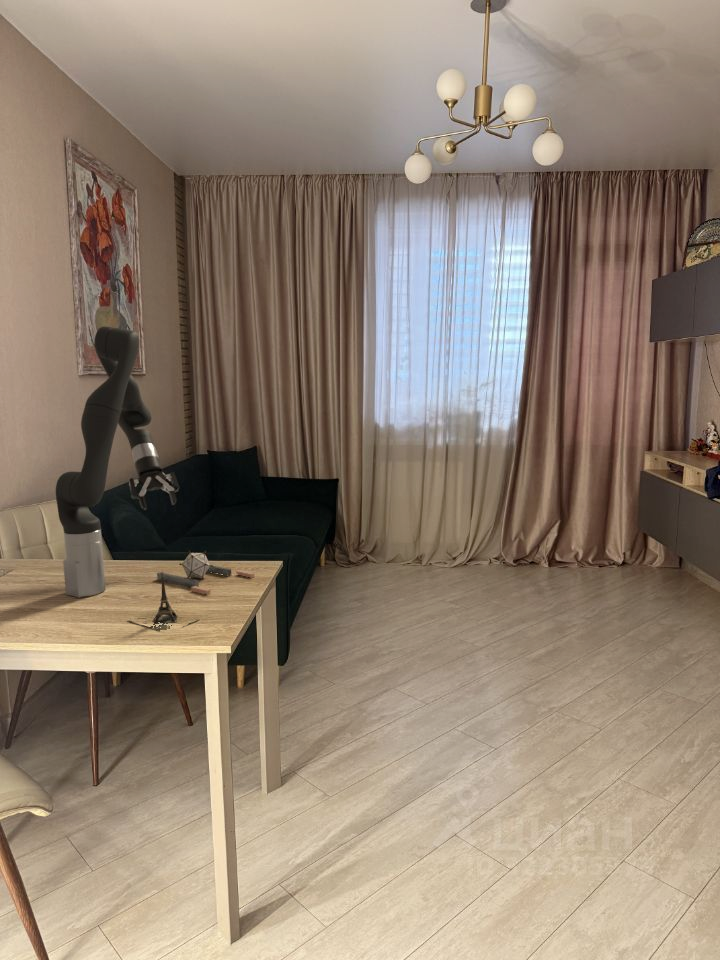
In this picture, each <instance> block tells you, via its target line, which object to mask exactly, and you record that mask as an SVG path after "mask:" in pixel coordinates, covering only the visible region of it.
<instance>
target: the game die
mask: <svg viewBox="0 0 720 960" xmlns="http://www.w3.org/2000/svg"><path fill="white" fill-rule="evenodd" d="M206 552H207V550H204V551H203V552H191V550H188V555H187V556H186V558H185V559H184V560H183V562H182V563H181V562H180V563H178V565H179V566H182V568H183V570H184V572H185V574H186V578H189V579H190V578H202V580H205V577H204V576H205V575H206V574H207V573H208V572H207V570H208V569H209V568H210V566H211V567H213V566H214V565H213V564H210V562H209V559H208V558H207V555H206Z"/></svg>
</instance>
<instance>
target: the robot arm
mask: <svg viewBox="0 0 720 960" xmlns="http://www.w3.org/2000/svg"><path fill="white" fill-rule="evenodd" d="M140 342H141V341H140V336H139V334H138V333H137V331H134V330H130V329H124V328H118V327H113V326H100V327H99V328H98V329H97V331H96V332H95V336H94V343H93V344H94V350H95V352H96V355H97V357H98V360H99V361H100V363H101V366H102V367H103V369H104V371H105V373H106V374H107V376H108V378H107V379H106V380H105V381H104V382H103V383H101V384H100V385H99V386H98V387H97V388H96V389H94V391H93V392H91V394H90V395H89V396H88V397H87V399H86V401H85V403H84V409H83V412H82V414H81V415H82V416H81V419H80V420H81V421H80V427H81V433H82V438H83V441H84V446H85V456H84V461H83V465H82V468H81V471H66V472H63V473H62V474H61V475H60V476H59V477H58V479H57V481H56V484H55V485H56V486H55V499H56V506H57V507H56V508H57V513H58V520H59V522H60V524H61V526H62V529H63V536H64V537H63V539H64V549H65V559H64V560H63V561H62V563H63V565H62V566H63V576H64V585H65V586H64V587H65V594H66V595H68V596H72V597H75V598H78V599H79V598H84V597H91V596H95V595H98V594H99V595H100V594H102V593H103V592H105V591H106V577H105V564H104V563H105V562H104V555H103V551H104V550H103V539H102V538H103V537H102V526H101V520H100V519H99V518H98V517H97V516H96V515H94V514H93V513H92V511H90V509H89V508H90V507H91V508H92V507H94V506H96V505H97V504H99V503H100V501H101V500H102V498H103V495H104V492H105V488H106V483H107V477H108V476H107V475H108V470H109V469H108V468H109V462H110V457H111V452H112V448H113V447H112V446H113V443H114V439H115V434H116V431H117V427H118V426H119V427H120V428H121V430H122V431H123V433H124V434H125V436H126V438H127V440H128V442H129V443H128V444H129V446H130V449H131V453H132V460H133V464H134V467H135V471H136V474H137V476H138V478H136V479H135V478H131V477H130V479H129V481H128V486H129V491H130V497H131V499H132V500H138V502H139V505H140V508H141V509H143V510H144V511H146V510H147V509H148V505H147V502H146V497H145V495H146V493H147V491H149V492H153V491H159V490H160V489H161V490H162V491H164V492H166V493H168V494H169V499H170V502H171V506H175V504H176V503H177V501H178V498H177V495H176V493H177V492H178V493H179V489H180V485H179V482H178V479H177V476H176V475H175V474H176V473H175V472H174V471H171V472H170V473H167V474H165V473H164V470H163V467H162V463H161V460H160V457H159V454H158V451H157V449H156V447H155V443H154V440H153V437H152V433H151V432H150V431H149V430H148V429H145V428H144V427H146V426H149V425H150V423H151V422H152V419H153V418H152V417H153V416H152V414H151V411H150V409H149V408H148V406H147V405H146V404H145V402H144V400H143V399H142V396H141V391H140V386H139V384H138V382H137V381H136V379H135V378H134V377H133V376H132V372H133V370H134V366H135V364H136V360H137V358H138V354H139V350H140ZM142 427H143V428H144V429H143V428H142ZM166 479H167V480H168V481H169V482H171V485H170V484H169V482H167V481H166ZM137 485H140V486H141V487H142V488H141V490H140V491H139V492H137V489H136V487H137Z"/></svg>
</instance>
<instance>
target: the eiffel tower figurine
mask: <svg viewBox="0 0 720 960" xmlns="http://www.w3.org/2000/svg"><path fill="white" fill-rule="evenodd" d="M161 572H162V573H161V576H162V581H161V598H160V605H159V607H158V610H157V611H158V612H157V613H156V615H155V616H154V617H155V618H154V617H153V620H154V624H153V625H155V624H159V623H158V622H160V623H163V624H162V625H159V626H158V627H156V625H155V626H154V628H153V626H151V627H150V628H149V629H152V628H153V629H152V630H155V631H157V630H158V632H160V630H167V629H170V626H169V625H168V626H167V625H164V624H165V623H166V624H168V623H177V622H178V621H177V619H179V616H178V615H179V614H177V613H176V612H175V611H174V609H173V608H172V606H171V605H170V603H169V601H168V597H167V593H166V585H165V581H164V576H163V575H164V573H165V572H163V571H161ZM164 604H165V606H164ZM198 619H199V618H198ZM130 620H131V619H128V620H127V622H129V623H132V621H130ZM198 621H200V619H199V620H198ZM196 622H197V620H196V621H195V622H192V623H191V624H193V623H196ZM171 626H172V625H171ZM160 627H161V628H160Z"/></svg>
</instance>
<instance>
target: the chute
mask: <svg viewBox="0 0 720 960" xmlns="http://www.w3.org/2000/svg"><path fill="white" fill-rule="evenodd" d="M162 572H163V571H159V572H156V578H157V580H158V581H161V582H162V576H161V573H162ZM209 572H212V573H211V574H214V573H218V574H223V575H228V576H229V575H231V576H232V569H231V568H227V567H224V566H223V567H222V566H219V565H218V566H217V565H213V567H211V566H210V568H209V569H208V570H207V572H206V573H209ZM163 573H164V575H163V576H164V583H165V582H166V583H170V584H173V585H174V584H175V585H179V586H183V587H186V586H187V587H188V588H191V587H194V586H197V587H200V586H199V580H197V579H193V578H190V577H189V578H187V577H185V576H184V577H183V576H179V575H176V574H170V573H166V572H163ZM218 574H217V575H218ZM223 575H222V576H223ZM228 576H227V577H228ZM229 577H230V576H229Z"/></svg>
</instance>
